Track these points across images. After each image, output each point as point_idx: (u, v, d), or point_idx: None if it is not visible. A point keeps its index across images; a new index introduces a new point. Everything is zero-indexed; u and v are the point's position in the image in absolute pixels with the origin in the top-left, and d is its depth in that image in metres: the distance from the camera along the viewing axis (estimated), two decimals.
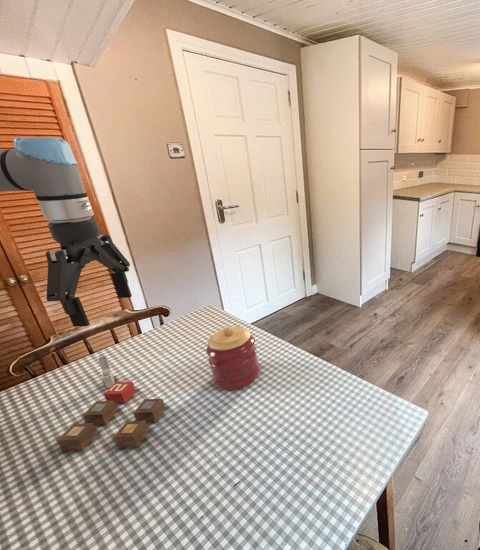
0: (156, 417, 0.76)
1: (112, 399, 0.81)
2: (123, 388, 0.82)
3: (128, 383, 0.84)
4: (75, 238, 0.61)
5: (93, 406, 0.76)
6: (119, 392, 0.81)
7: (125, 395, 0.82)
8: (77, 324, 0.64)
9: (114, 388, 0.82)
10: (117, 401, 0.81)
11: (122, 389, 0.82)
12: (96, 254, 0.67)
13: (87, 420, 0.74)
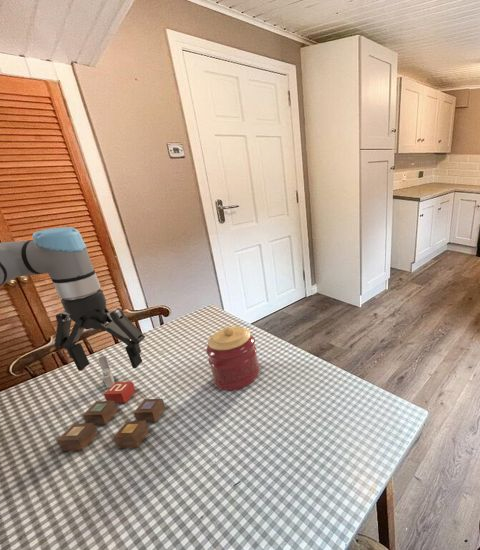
0: (156, 417, 0.76)
1: (112, 399, 0.81)
2: (123, 388, 0.82)
3: (128, 383, 0.84)
4: None
5: (93, 406, 0.76)
6: (119, 392, 0.81)
7: (125, 395, 0.82)
8: (137, 364, 0.79)
9: (114, 388, 0.82)
10: (117, 401, 0.81)
11: (122, 389, 0.82)
12: None
13: (87, 420, 0.74)
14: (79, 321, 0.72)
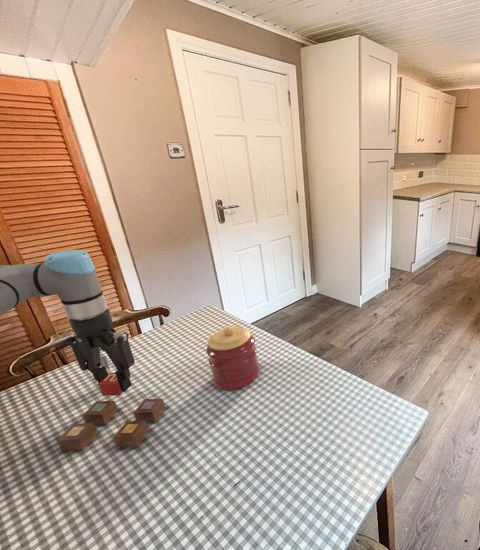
0: (156, 417, 0.76)
1: (106, 389, 0.80)
2: None
3: None
4: (112, 320, 0.77)
5: (93, 406, 0.76)
6: (114, 382, 0.79)
7: None
8: (126, 387, 0.82)
9: (109, 378, 0.81)
10: (111, 391, 0.80)
11: (117, 379, 0.80)
12: None
13: (87, 420, 0.74)
14: (86, 340, 0.74)
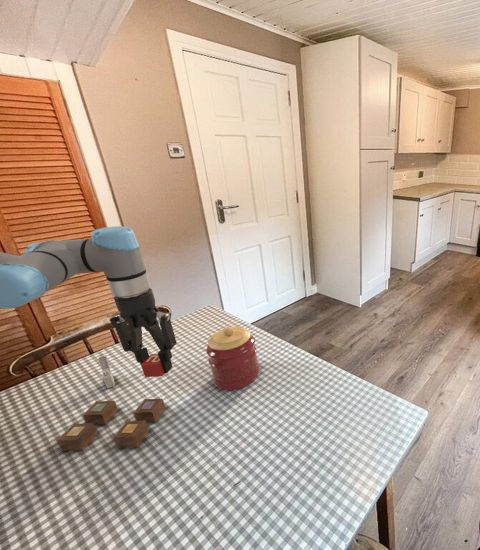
0: (156, 417, 0.76)
1: (149, 370, 0.78)
2: None
3: None
4: None
5: (93, 406, 0.76)
6: (157, 362, 0.78)
7: None
8: (168, 369, 0.81)
9: (151, 359, 0.80)
10: (154, 372, 0.79)
11: (159, 360, 0.79)
12: None
13: (87, 420, 0.74)
14: (130, 319, 0.73)
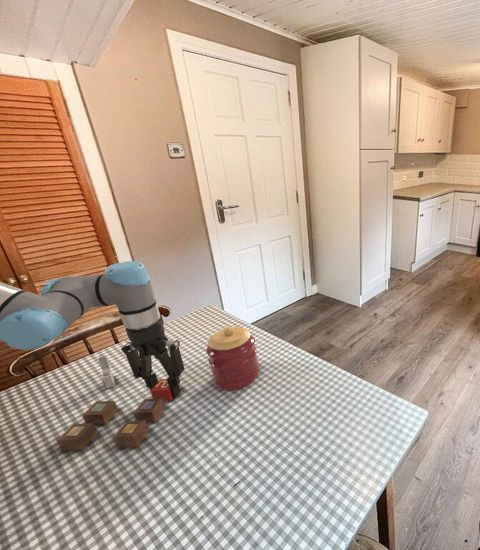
0: (156, 417, 0.76)
1: (158, 396, 0.82)
2: None
3: None
4: (164, 329, 0.79)
5: (93, 406, 0.76)
6: (166, 388, 0.81)
7: None
8: (176, 394, 0.84)
9: (160, 384, 0.83)
10: (163, 398, 0.82)
11: (168, 385, 0.82)
12: None
13: (87, 420, 0.74)
14: (141, 348, 0.76)
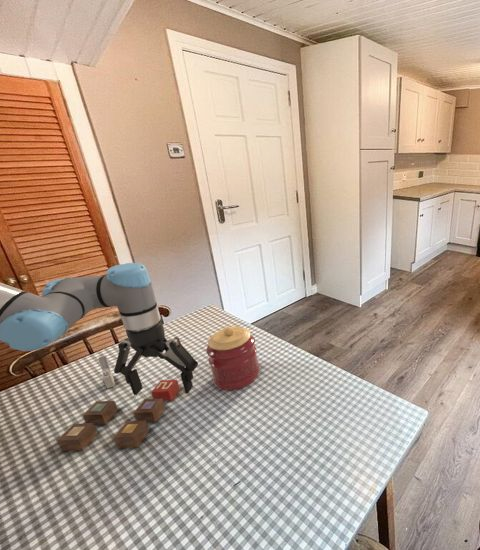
0: (156, 417, 0.76)
1: (159, 397, 0.82)
2: (169, 386, 0.83)
3: (173, 381, 0.85)
4: None
5: (93, 406, 0.76)
6: (166, 389, 0.82)
7: (172, 392, 0.83)
8: (189, 389, 0.83)
9: (161, 386, 0.83)
10: (164, 399, 0.82)
11: (169, 387, 0.83)
12: None
13: (87, 420, 0.74)
14: (141, 350, 0.76)
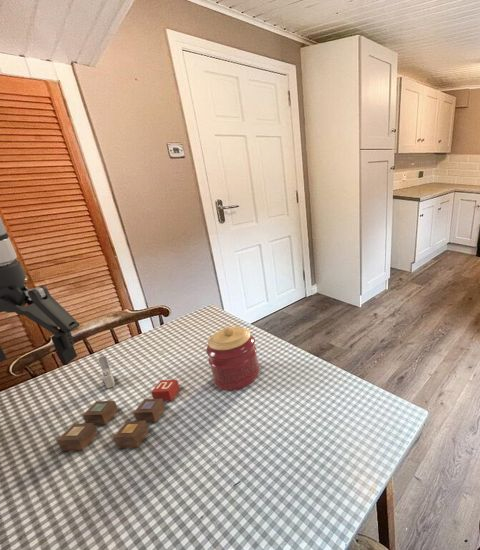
0: (156, 417, 0.76)
1: (159, 397, 0.82)
2: (169, 386, 0.83)
3: (173, 381, 0.85)
4: (25, 276, 0.57)
5: (93, 406, 0.76)
6: (166, 389, 0.82)
7: (172, 392, 0.83)
8: (69, 359, 0.62)
9: (161, 386, 0.83)
10: (164, 399, 0.82)
11: (169, 387, 0.83)
12: None
13: (87, 420, 0.74)
14: None
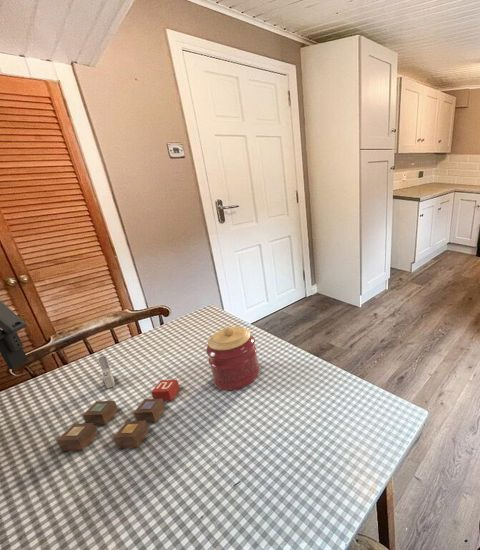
0: (156, 417, 0.76)
1: (159, 397, 0.82)
2: (169, 386, 0.83)
3: (173, 381, 0.85)
4: None
5: (93, 406, 0.76)
6: (166, 389, 0.82)
7: (172, 392, 0.83)
8: (17, 363, 0.56)
9: (161, 386, 0.83)
10: (164, 399, 0.82)
11: (169, 387, 0.83)
12: None
13: (87, 420, 0.74)
14: None
